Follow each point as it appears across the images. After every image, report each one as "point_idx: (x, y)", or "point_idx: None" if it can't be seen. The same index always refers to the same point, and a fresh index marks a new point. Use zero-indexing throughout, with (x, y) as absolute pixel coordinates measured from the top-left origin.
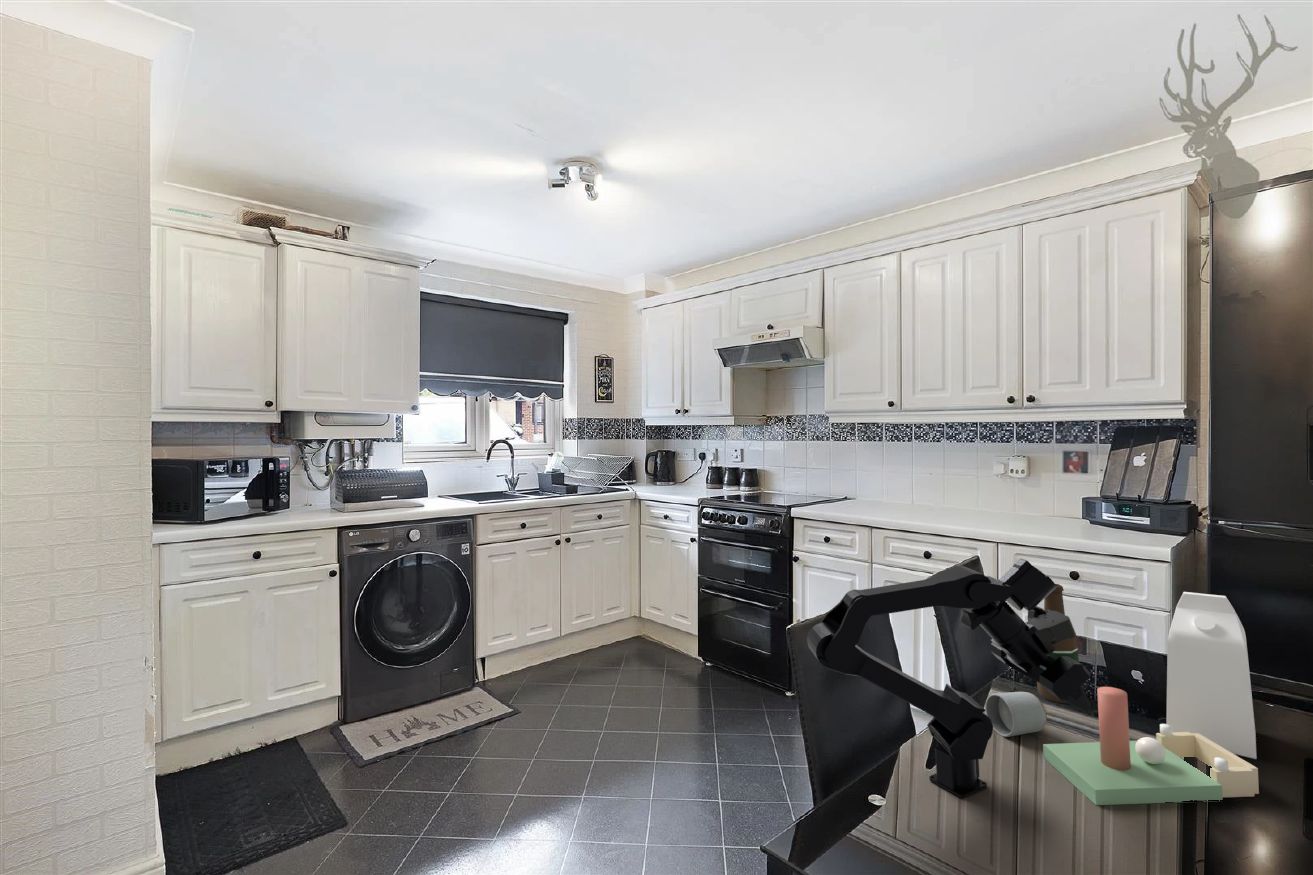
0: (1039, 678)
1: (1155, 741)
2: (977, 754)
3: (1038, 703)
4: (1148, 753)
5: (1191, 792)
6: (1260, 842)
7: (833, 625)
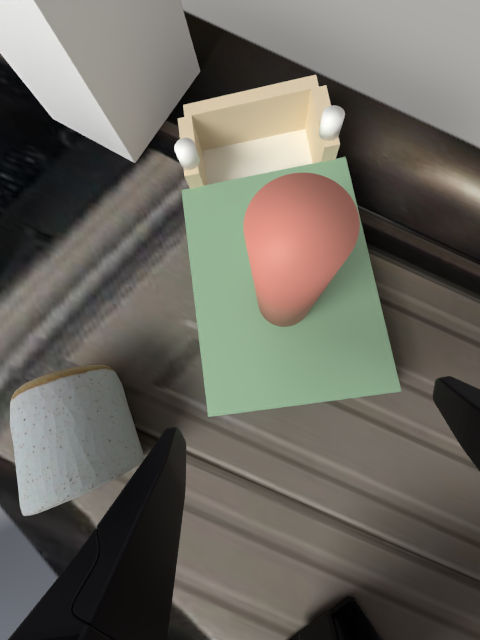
0: (173, 519)
1: None
2: None
3: (75, 384)
4: None
5: None
6: (456, 183)
7: None
